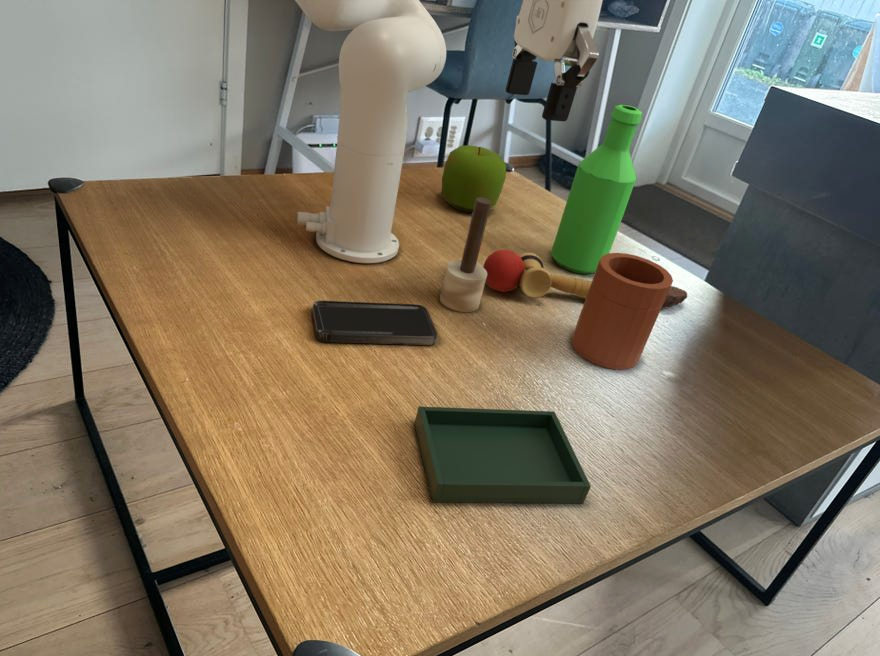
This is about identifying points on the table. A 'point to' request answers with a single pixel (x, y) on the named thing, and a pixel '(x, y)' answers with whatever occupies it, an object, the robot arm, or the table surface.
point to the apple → (472, 177)
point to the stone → (674, 297)
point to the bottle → (598, 197)
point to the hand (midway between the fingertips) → (534, 106)
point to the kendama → (528, 275)
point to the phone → (373, 323)
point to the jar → (620, 310)
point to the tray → (498, 456)
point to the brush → (467, 266)
